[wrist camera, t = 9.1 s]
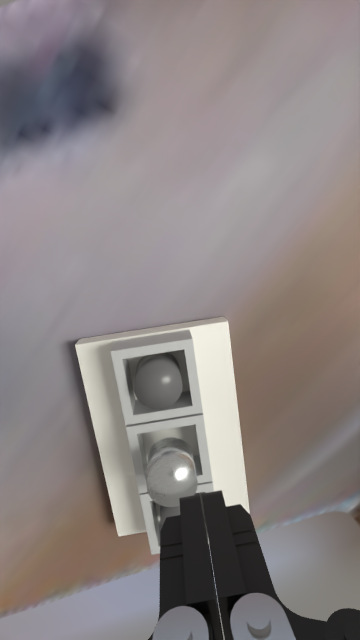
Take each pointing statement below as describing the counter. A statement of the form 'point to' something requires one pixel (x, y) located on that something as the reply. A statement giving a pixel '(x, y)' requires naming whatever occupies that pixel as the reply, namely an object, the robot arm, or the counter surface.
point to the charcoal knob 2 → (168, 512)
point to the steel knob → (171, 472)
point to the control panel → (164, 416)
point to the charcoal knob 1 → (158, 380)
